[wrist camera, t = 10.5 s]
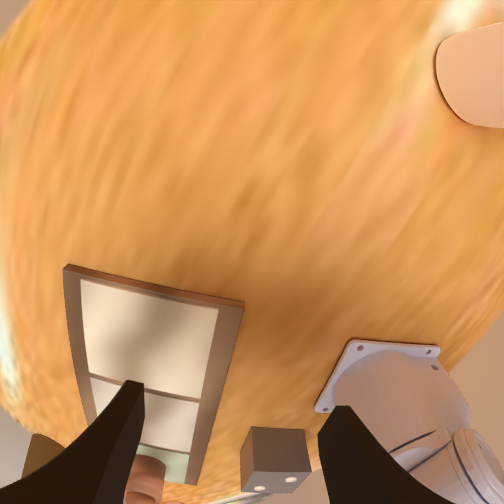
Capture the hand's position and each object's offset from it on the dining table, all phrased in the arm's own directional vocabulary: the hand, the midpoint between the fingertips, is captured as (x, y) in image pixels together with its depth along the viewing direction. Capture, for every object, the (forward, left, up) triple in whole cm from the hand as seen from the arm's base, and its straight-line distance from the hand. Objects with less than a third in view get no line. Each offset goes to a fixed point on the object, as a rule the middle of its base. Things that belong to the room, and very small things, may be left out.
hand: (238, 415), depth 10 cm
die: (-7, +16, -10) cm, 20 cm away
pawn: (+5, +23, -8) cm, 25 cm away
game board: (+5, +14, -9) cm, 18 cm away
